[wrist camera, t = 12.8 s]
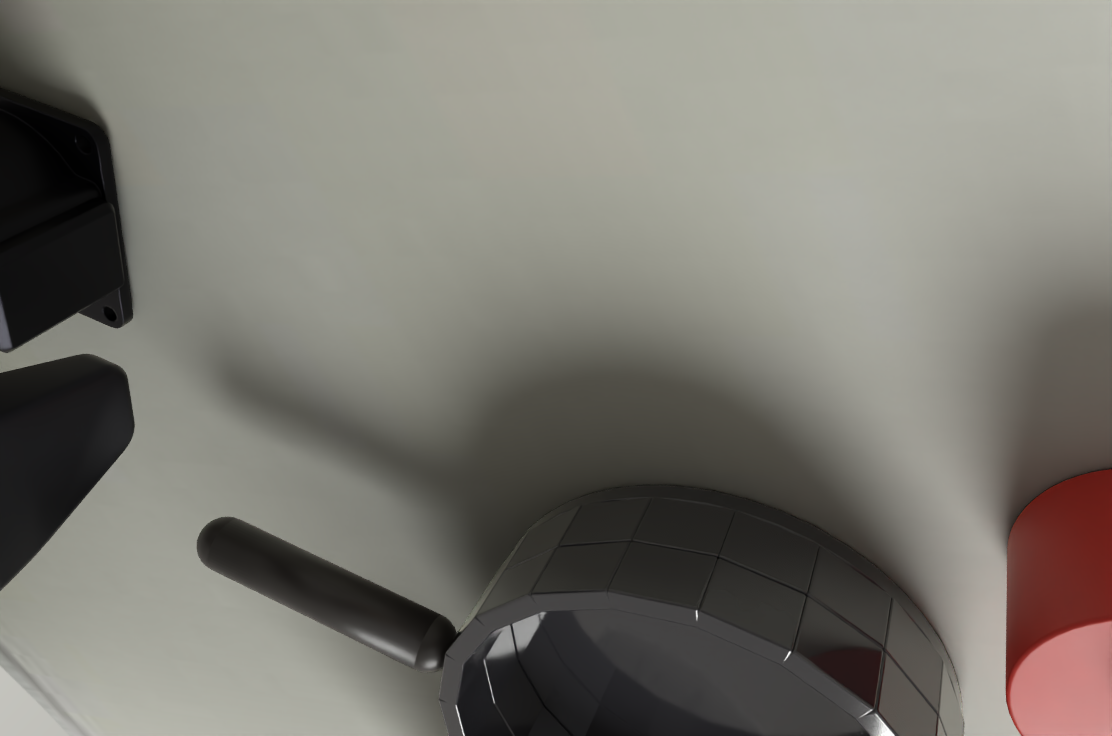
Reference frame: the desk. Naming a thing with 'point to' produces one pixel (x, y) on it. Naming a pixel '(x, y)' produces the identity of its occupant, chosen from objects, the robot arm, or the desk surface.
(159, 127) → the desk surface
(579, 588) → the pan
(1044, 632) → the pepper
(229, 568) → the pan handle
